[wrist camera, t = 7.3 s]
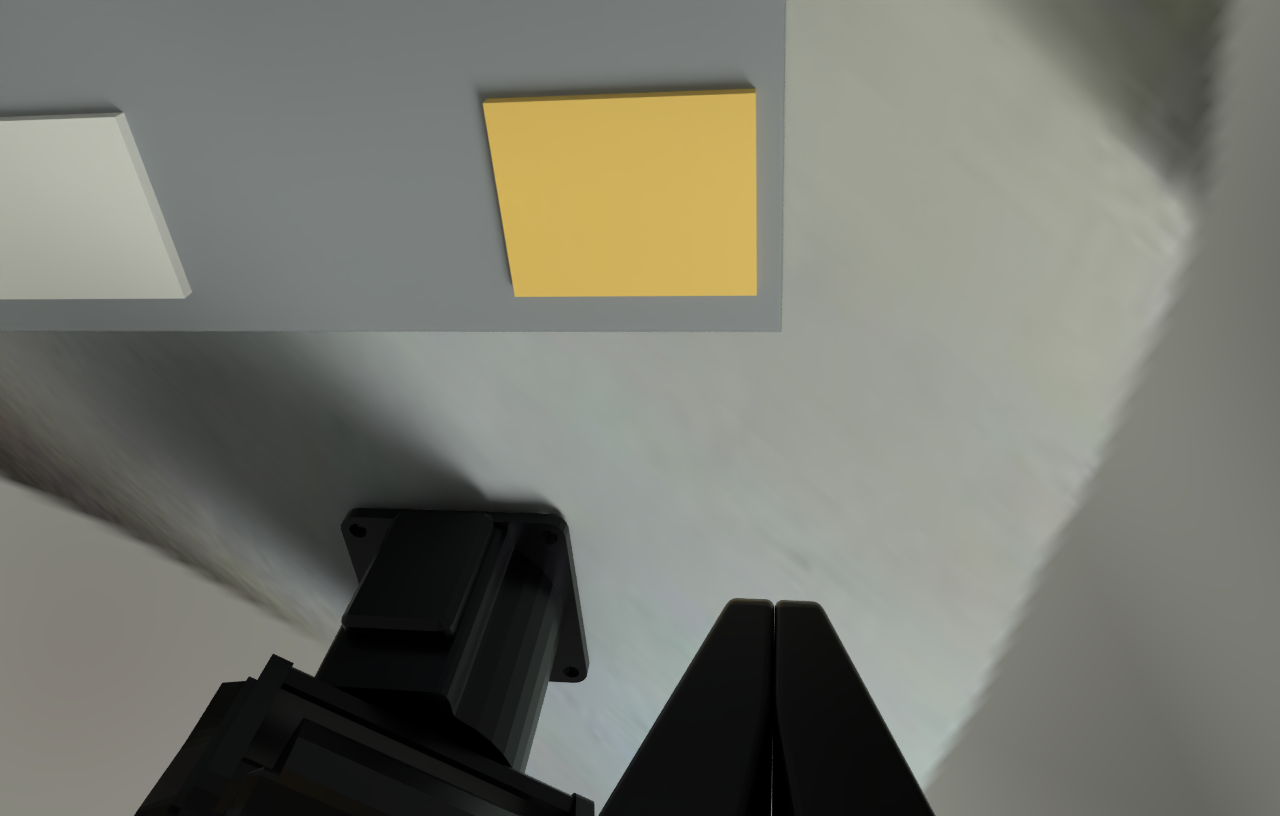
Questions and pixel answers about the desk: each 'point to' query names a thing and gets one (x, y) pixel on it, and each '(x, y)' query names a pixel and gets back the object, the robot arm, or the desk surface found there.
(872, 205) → the desk surface
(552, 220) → the grey base plate
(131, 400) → the desk surface
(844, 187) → the desk surface
